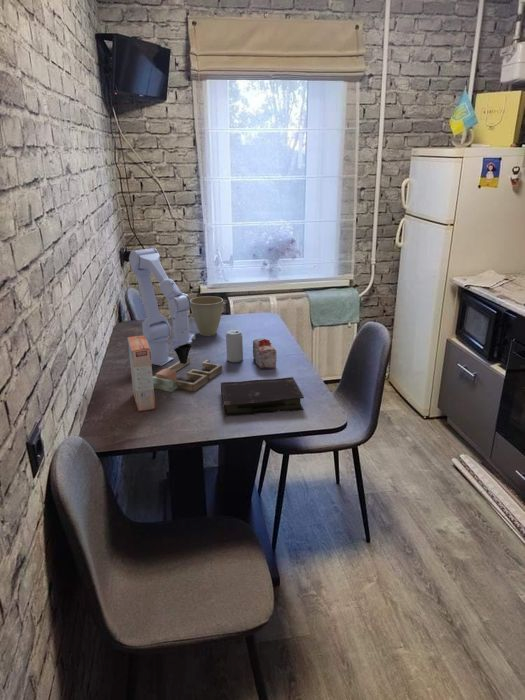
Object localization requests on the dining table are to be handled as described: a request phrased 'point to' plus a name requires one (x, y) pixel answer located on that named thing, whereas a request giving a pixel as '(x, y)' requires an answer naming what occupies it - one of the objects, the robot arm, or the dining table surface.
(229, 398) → the diary
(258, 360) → the food item
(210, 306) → the plant pot
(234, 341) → the beverage can
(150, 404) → the cracker box
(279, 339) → the dining table surface
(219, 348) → the dining table surface
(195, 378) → the trap lane
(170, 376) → the block
